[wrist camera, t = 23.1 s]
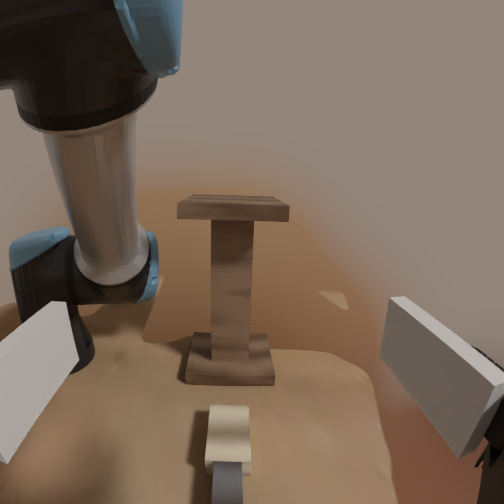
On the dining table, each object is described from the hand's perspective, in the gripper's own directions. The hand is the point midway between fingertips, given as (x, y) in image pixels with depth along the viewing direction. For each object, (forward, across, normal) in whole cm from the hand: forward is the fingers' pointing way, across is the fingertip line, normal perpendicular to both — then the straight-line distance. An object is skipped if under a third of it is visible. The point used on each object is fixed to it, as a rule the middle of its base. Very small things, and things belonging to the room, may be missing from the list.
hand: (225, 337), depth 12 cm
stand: (+37, 0, -25) cm, 45 cm away
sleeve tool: (+11, -1, -26) cm, 28 cm away
